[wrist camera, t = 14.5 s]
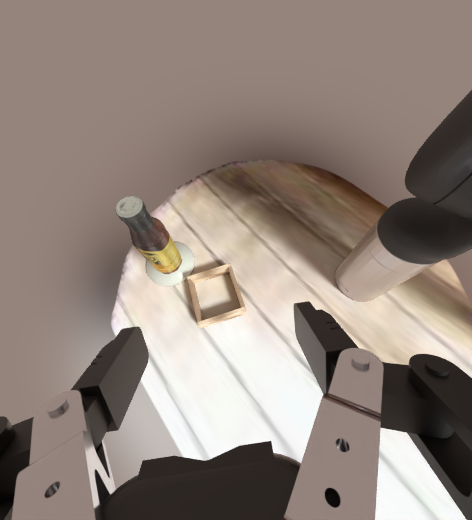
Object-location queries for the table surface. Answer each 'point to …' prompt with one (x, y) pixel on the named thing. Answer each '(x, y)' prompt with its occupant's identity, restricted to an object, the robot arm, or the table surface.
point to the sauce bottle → (149, 235)
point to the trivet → (178, 275)
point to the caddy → (191, 281)
